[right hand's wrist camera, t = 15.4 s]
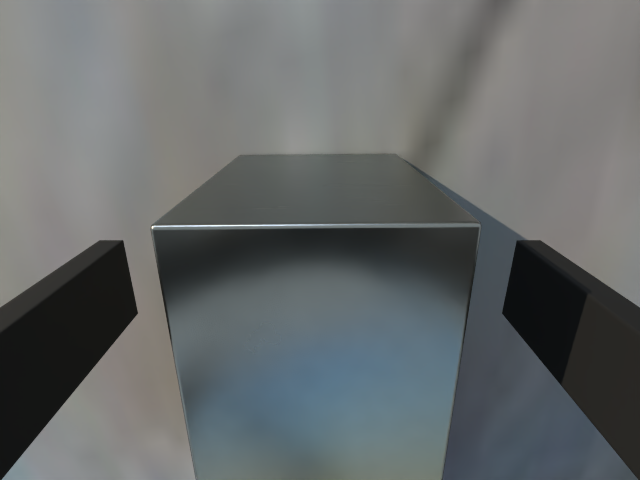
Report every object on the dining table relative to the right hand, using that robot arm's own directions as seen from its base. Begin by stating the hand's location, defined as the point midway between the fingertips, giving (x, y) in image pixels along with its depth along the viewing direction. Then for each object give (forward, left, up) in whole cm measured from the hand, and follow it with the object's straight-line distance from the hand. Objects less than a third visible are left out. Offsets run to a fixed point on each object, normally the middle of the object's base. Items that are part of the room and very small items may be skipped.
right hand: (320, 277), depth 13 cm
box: (+1, +9, -4) cm, 10 cm away
